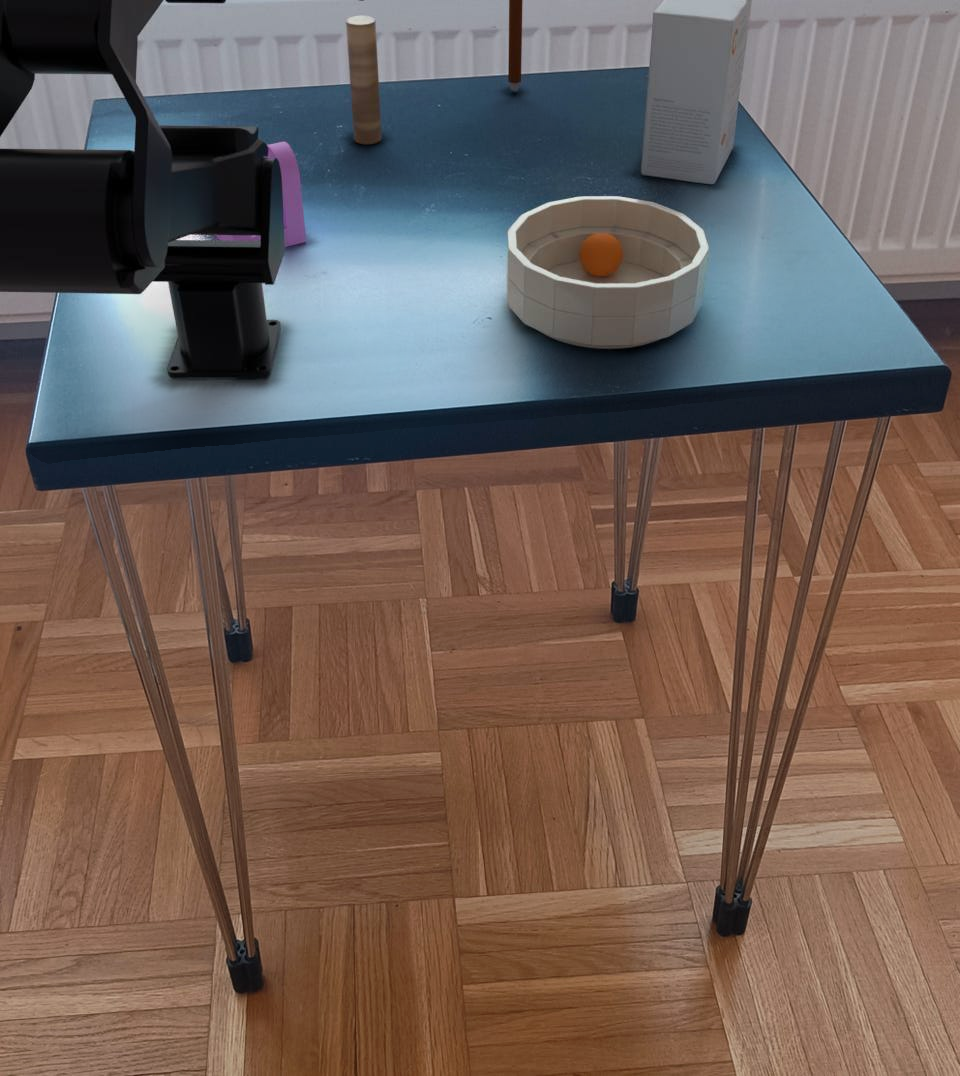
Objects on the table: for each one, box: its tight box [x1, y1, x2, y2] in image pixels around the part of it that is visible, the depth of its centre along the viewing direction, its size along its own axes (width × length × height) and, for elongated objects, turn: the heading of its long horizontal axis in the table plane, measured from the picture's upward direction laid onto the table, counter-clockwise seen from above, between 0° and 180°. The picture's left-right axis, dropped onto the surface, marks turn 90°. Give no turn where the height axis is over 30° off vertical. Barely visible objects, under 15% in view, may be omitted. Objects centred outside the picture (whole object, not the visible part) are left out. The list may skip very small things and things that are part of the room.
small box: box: [640, 0, 753, 185], centre depth 100 cm, size 8×6×13 cm
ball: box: [580, 233, 623, 277], centre depth 87 cm, size 3×3×3 cm
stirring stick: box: [345, 15, 383, 145], centre depth 105 cm, size 2×2×10 cm
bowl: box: [506, 195, 710, 350], centre depth 84 cm, size 13×13×5 cm
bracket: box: [214, 140, 307, 248], centre depth 94 cm, size 13×6×7 cm, turn 30°
